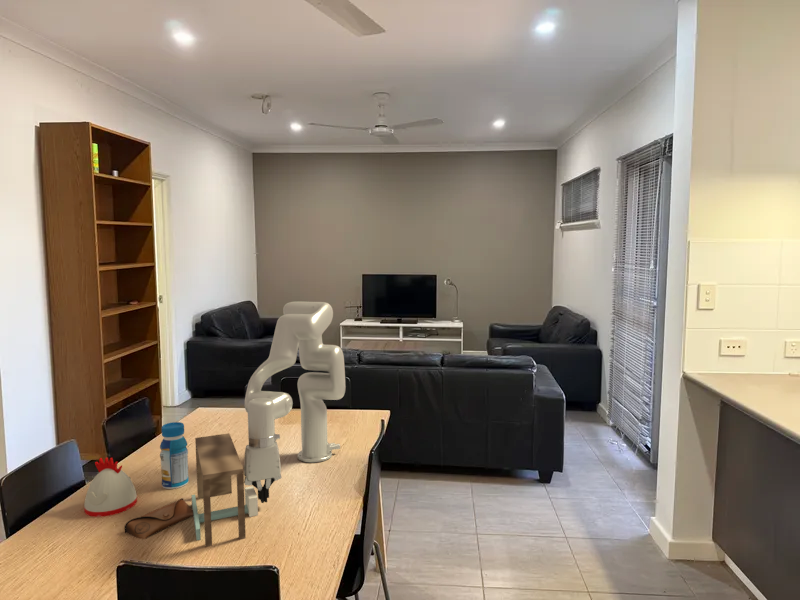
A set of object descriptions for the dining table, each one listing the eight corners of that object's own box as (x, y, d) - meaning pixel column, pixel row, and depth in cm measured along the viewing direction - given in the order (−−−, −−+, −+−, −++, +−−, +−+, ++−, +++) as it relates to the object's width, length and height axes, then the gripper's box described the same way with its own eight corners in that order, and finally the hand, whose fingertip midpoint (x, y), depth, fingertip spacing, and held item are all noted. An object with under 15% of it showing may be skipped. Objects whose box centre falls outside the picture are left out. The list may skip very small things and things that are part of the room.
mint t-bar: (249, 493, 166) (249, 477, 166) (262, 526, 147) (261, 507, 146) (191, 504, 159) (191, 487, 159) (196, 540, 140) (195, 520, 139)
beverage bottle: (184, 489, 170) (181, 428, 169) (157, 490, 170) (154, 429, 168) (192, 478, 179) (190, 420, 177) (166, 479, 178) (164, 421, 176)
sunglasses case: (142, 542, 139) (133, 517, 141) (129, 548, 143) (121, 524, 144) (200, 513, 154) (192, 491, 156) (188, 520, 158) (180, 498, 159)
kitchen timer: (105, 494, 167) (102, 448, 166) (146, 496, 166) (144, 450, 164) (73, 516, 153) (70, 466, 152) (118, 518, 152) (115, 468, 151)
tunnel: (231, 492, 168) (229, 433, 167) (245, 538, 141) (243, 468, 139) (197, 498, 164) (195, 437, 162) (205, 547, 137) (202, 475, 135)
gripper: (284, 433, 162) (285, 490, 164) (233, 440, 156) (235, 500, 158) (290, 440, 155) (291, 501, 157) (237, 448, 149) (239, 511, 151)
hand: (263, 500), depth 157 cm, fingers closed
